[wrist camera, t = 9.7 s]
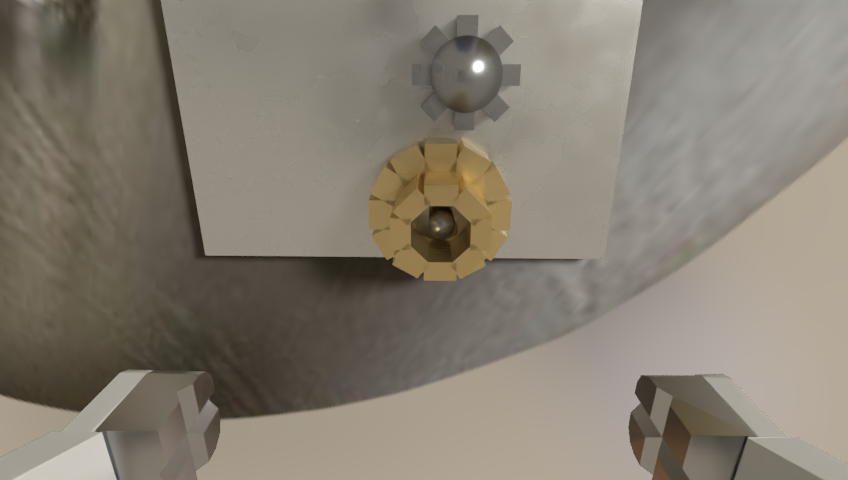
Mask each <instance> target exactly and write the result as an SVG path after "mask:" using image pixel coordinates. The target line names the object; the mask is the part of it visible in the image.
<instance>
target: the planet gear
mask: <svg viewBox="0 0 848 480" xmlns="http://www.w3.org/2000/svg"><path fill="white" fill-rule="evenodd" d="M370 194H371V195H370V197H369V200H368V210H369V229H374V230H373V233H372V238H373V239H374V241H375V242H376V244H377V245H378V247H379V248H380V250H381V252H382V253H383V255H384V256H385V258H386V259H387V260H388V259H390V258H392V257H394V258H393V263H392V265H394V266H395V267H397V268H399V269H401V270H403V271H405V272H407V273H409V274H410V275H412V276H414V277H416V278H418V277H419V276H420V275H421V274H422V273H423V272H424V281H456V273H457V274H458V276H459V278H460V279H461V278H464V277H465V276H466V275H468V274H470V273H472V272H474V271H476V270H478V269H480V268H482V267H484V266H486V264H485V259H486V258H487V259H489V260H490V261H492V259H493V258H494V256H495V255H496V254H497V252H498V251H499V249H500V248H501V246H502V245H503V243H504V242H505V240H506V239H507V238H508V237H507V234H506V232H505V231H510V225H511V211H512V200H511V198H510V197H509V195H510V192H509V190H508V188H507V186H506V184H505V182H504V180H503V179H502V177H501V175H500V173H499V171H498V169H497V167H496V166H495V164H494V163H493V161H491V160H490V159H489V157H488V156H487V155H486V154H484V153H483V152H481V151H479V150H478V149H476V148H474V147H473V146H471V145H469V144H468V143H466V142H464V141H463V140H462V141H461V143H460V145H459V146H458V148H457V142H456V139H455V138H425V151H424V149H423V147H422V146H421V144H420V142H419V140H417V141H416V142H414V143H412V144H411V145H409V146H407V147H405V148H404V149H402V150H400V151H398V152H397V153H395V154H393V155H392V158H391V160H390V161H389V160H388V161H387V162H386V164H385V166H384V168H383V170H382V171H381V173H380V175H379V177H378V179H377V180H376V182H375V184H374V186H373V188H372V190H371V192H370ZM428 206H454V207H455V208H456V209H457V210H458V211H459V212H460V213H461V214H462V215H461V217H460V218H459V220H458V222H457V223H455V229H454V232H453V233H452V235H451V236H449V237H447V238H444V239H439V238H436V237H434V236H433V235H432V234H431V233H430V231H429V226H427V225H425V224H423V223H421V221H420V219H419V218H418V215H420V214H421V213H422V212H423V211H424V210H425V209H426V208H427V207H428Z"/></svg>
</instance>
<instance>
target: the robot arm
mask: <svg viewBox="0 0 848 480" xmlns="http://www.w3.org/2000/svg"><path fill="white" fill-rule="evenodd" d="M214 390H215V389H214V385H213V381H212V376H211V375H210V374H208V373H207V372H203V371H170V370H154V371H152V370H127V371H124V372H120V373H119V374H118V375H117V376H116V377H115V378H114V379H113V380H112V381H111V382H110V383H109V384H108V385H107V386H106V387H105V388H104V389H103V390H102V391H101V392H100V393H99V394H98V395H97V396H96V397H95V398H94V399H93V400H92V401H91V402H90V403H89V404H88V405H87V406H86V407H85V408H84V409H83V410H82V411H81V412H80V413H79V414H78V415H77V417H75V418H74V419H73V420H72V421H71V423H69V424H68V425H67V426H66V427H65V428H64V429H63V430H62V431H61V432H50V433H48V434H46V435H44V436H42V437H40V438H38V439H36V440H34V441H32V442H30V443H28V444H26V445H24V446H22V447H20V448H18V449H16V450H14V451H12V452H10V453H8V454H6V455H4V456H2V457H0V480H197V476H196V470H198V469H199V468H200V467H202V466H203V465H205V464H206V463H207V462H209V460H210V458H211V457H212V455H213V453H214V451H215V449H216V445H217V442H218V438H219V434H220V416H219V410H218V408H217V407H216V406H215V405H214V404H213V403H212V402H211V401H210V400H209V398H210V396H211V395H212V393H213V392H214ZM635 394H636V396H637V397H638V399H639V401H640V402H641V403H640V404H639V405H638V406H637V407H636V408H635V409H634V410H633V411H632V412H631V415H630V421H629V436H630V443H631V446H632V449H633V453H634V455H635V457H636V459H637V461H638V463H639V464H640V466H642V467H643V468H645V469H646V470H647V471H649V472H650V473H651V474H653V478H652V480H848V463H847V462H845V461H843V460H841V459H839V458H837V457H835V456H833V455H831V454H829V453H827V452H825V451H824V450H822V449H820V448H818V447H816V446H813V445H812V444H810V443H808V442H806V441H804V440H802V439H800V438H798V437H796V438H795V437H788V436H787V435H786V434H785V433H784V432H783V431H782V430H781V429H780V428H779V427H778V426H777V425H776V424H775V423H774V422H773V421H772V420H771V418H769V417H768V415H766V413H765V412H764V411H763V410H762V409H761V408H760V407H759V406H758V405H757V404H756V403H755V402H754V401H753V400H752V399H751V398H750V397H749V396H748V395H747V394H746V393H745V392H744V391H743V390H742V389H741V388H740V387H739V386H738V385H737V384H736V383H735V382H734V381H733V380H732V379H731V378H730V377H728V376H726V375H724V374H704V375H703V374H700V375H694V376H672V375H671V376H669V375H666V376H665V375H661V376H660V375H659V376H657V375H651V376H650V375H646V376H645V375H642V376H641V377H640V379H639V381H638V382H637V386H636V390H635Z"/></svg>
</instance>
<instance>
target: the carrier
mask: <svg viewBox="0 0 848 480" xmlns="http://www.w3.org/2000/svg"><path fill="white" fill-rule="evenodd" d="M642 4H643V0H161V5H162V11H163V16H164V22H165V28H166V33H167V39H168V45H169V51H170V56H171V62H172V68H173V74H174V79H175V85H176V91H177V96H178V102H179V108H180V114H181V119H182V125H183V131H184V136H185V142H186V148H187V154H188V159H189V165H190V171H191V176H192V182H193V188H194V194H195V199H196V205H197V211H198V217H199V222H200V228H201V234H202V239H203V245H204V251H205V255H207V256H315V257H385V256H384V255H383V253H382V252H381V250H380V248H379V247H378V245H377V244H376V242H375V241H374V239H373V238H372V233H373V230H374V229H369V210H368V200H369V197H370V195H371V194H370V192H371V190H372V188H373V186H374V184H375V182H376V180H377V179H378V177H379V175H380V173H381V171H382V170H383V168H384V166H385V164H386V162H387V161H388V160H389V161H390V160H391V158H392V155H393V154H395V153H397V152H398V151H400V150H402V149H404V148H405V147H407V146H409V145H411V144H412V143H414V142H416V141H417V140H419V142H420V144H421V146H422V147H423V149H424V151H425V138H455V139H456V142H457V148H458V146H459V145H460V143H461V141H462V140H463V141H464V142H466V143H468V144H469V145H471V146H473V147H474V148H476V149H478V150H479V151H481V152H483V153H484V154H486V155H487V156H488V157H489V159H490V160H491V161H493V163H494V164H495V166H496V167H497V169H498V171H499V173H500V175H501V177H502V179H503V180H504V182H505V184H506V186H507V188H508V190H509V192H510V195H509V197H510V198H511V200H512V211H511V225H510V231H505V232H506V234H507V237H508V238H507V239H506V240H505V242H504V243H503V245H502V246H501V248H500V249H499V251H498V252H497V254H496V255H495V256H494V258H532V259H604V257H605V251H606V244H607V237H608V231H609V224H610V217H611V211H612V204H613V197H614V191H615V184H616V177H617V170H618V164H619V157H620V150H621V144H622V137H623V130H624V124H625V117H626V110H627V104H628V97H629V90H630V84H631V77H632V70H633V64H634V57H635V50H636V44H637V37H638V30H639V24H640V17H641V10H642ZM461 215H462V214H461V213H460V212H459V211H458V210H457V209H456V208H455V207H454V206H428V207H427V208H426V209H425V210H424V211H423V212H422V213H421V214H420V215H418V218H419V219H420V221H421V223H423V224H425V225H427V226H429V231H430V233H431V234H432V235H433V236H434V237H436V238H439V239H444V238H447V237H449V236H451V235H452V233H453V232H454V229H455V223H457V222H458V220H459V218H460V217H461Z"/></svg>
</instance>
